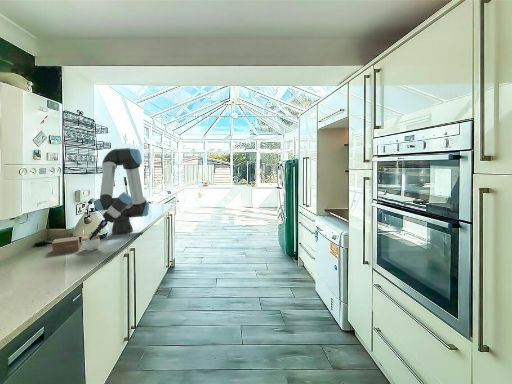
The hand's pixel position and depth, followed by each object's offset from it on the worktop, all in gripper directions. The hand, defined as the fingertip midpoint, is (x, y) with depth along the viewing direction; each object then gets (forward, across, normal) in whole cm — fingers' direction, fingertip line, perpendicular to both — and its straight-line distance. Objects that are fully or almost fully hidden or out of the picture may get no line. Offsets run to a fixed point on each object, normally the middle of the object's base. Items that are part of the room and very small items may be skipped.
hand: (87, 241), depth 241 cm
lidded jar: (+3, 0, -5) cm, 6 cm away
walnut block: (+13, +6, +6) cm, 16 cm away
